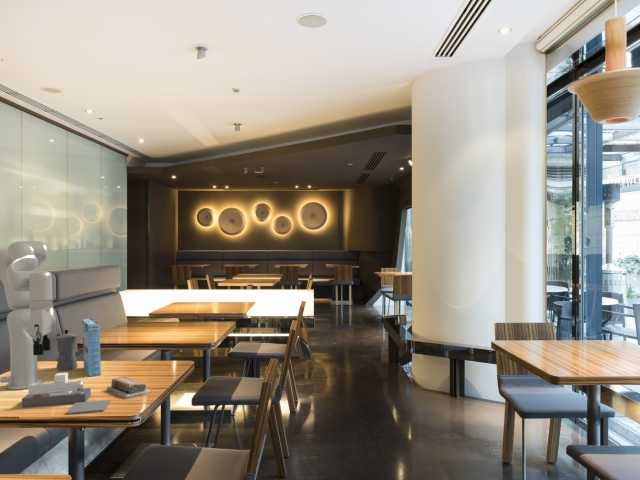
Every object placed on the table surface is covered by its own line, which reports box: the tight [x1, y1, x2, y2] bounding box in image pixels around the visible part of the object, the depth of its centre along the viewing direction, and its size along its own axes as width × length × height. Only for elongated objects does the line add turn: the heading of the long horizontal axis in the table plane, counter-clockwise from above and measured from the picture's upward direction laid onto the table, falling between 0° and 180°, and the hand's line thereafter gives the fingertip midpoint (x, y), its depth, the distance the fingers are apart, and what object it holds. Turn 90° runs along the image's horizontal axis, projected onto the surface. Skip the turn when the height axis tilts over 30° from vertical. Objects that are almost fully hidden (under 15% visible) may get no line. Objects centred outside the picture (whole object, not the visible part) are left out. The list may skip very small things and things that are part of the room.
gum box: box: [81, 318, 102, 377], centre depth 227 cm, size 20×5×23 cm, turn 32°
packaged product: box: [106, 376, 152, 400], centre depth 195 cm, size 18×5×10 cm
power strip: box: [21, 387, 92, 408], centre depth 184 cm, size 21×8×4 cm, turn 101°
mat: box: [65, 399, 112, 415], centre depth 176 cm, size 12×11×1 cm
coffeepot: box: [55, 329, 78, 372], centre depth 236 cm, size 15×9×18 cm, turn 54°
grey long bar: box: [27, 380, 84, 394], centre depth 181 cm, size 18×2×3 cm, turn 101°
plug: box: [49, 372, 72, 396], centre depth 184 cm, size 6×6×10 cm
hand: (42, 352), depth 186 cm, fingers open, 6 cm apart
